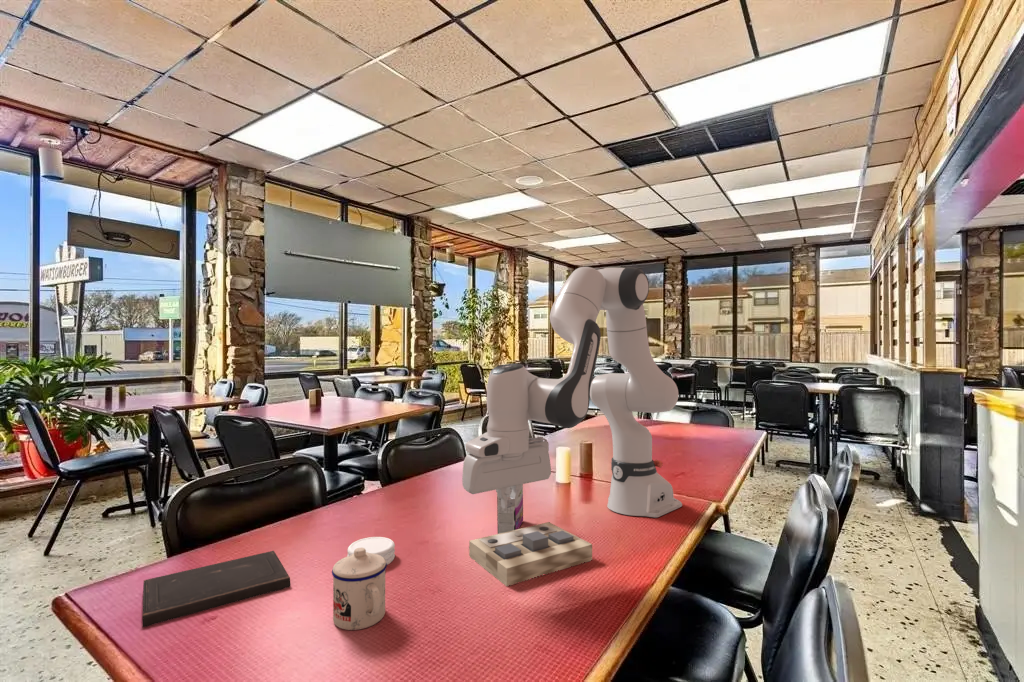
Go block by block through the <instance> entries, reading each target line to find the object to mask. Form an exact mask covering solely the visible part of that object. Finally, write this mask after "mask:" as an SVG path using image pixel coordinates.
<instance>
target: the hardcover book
mask: <svg viewBox="0 0 1024 682" xmlns="http://www.w3.org/2000/svg"><path fill="white" fill-rule="evenodd" d="M288 588H289V589H290V588H291V577H290V576H289V573H288V572H287V571H286V568H285V567H284V565H283V564H282V562H281V560H280V558H279V557H278V555H277V553H276V552H275V550H270V551H266V552H262V553H257V554H254V555H249V556H244V557H240V558H235V559H231V560H226V561H222V562H218V563H213V564H209V565H205V566H204V565H203V566H201V567H195V568H192V569H187V570H182V571H178V572H175V573H170V574H165V575H161V576H156V577H152V578H148V579H144V580H143V589H142V622H141V623H142V624H141V626H142V628H146V627H150V626H154V625H156V624H159V623H165V622H167V621H171V620H175V619H178V618H183V617H186V616H190V615H193V614H199V613H200V612H204V611H208V610H212V609H216V608H220V607H223V606H226V605H230V604H233V603H238V602H240V601H244V600H248V599H252V598H256V597H259V596H263V595H267V594H270V593H274V592H278V591H282V590H285V589H288Z"/></svg>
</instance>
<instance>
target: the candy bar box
mask: <svg viewBox="0 0 1024 682" xmlns="http://www.w3.org/2000/svg"><path fill="white" fill-rule="evenodd" d="M512 489H513V488H511V487H507V492H506V493H504V494H505V495H506V497H509V496H510V495H511V492H512ZM523 489H524V484H521V491H520V493H519V496H518V498H517V506H514V507H509V508H505V509H504V508H503V507H502V506H501V498H500V497H499V495H498V494H497V493H496V498H497V499H496V504H497V506H496V508H497V509H496V510H497V511H496V512H497V515H496V516H497V519H496V520H497V534H500V533H504V532H508V531H513V530H517V529H520V527H521V525H522V523H523V521H524V490H523Z"/></svg>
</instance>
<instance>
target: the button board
mask: <svg viewBox="0 0 1024 682" xmlns="http://www.w3.org/2000/svg"><path fill="white" fill-rule="evenodd" d="M536 531H538V532H540V533H542V534H544V535H545V536H547V537H548V534H551V533H555V532H559V531H564V532H566V533H568V534H570V535H572V536H573V541H571V542H568V543H564V544H560V545H558V544H556V543H555V542H553V541H551V540H549V539H548V548H546V549H542V550H538V551H535V552H532V551H530V550H529V549H527V548H525V547H524V546H523V535H524V534H528V533H532V532H536ZM468 544H469V545H468V547H469V549H468V550H469V551H468V553H469V554H468V555H469V556H470V557H469V558H471V559H472V560H473V561H474V560H475V561H474V562H475V563H477V564H478V566H480V567H482V568H483V569H484V570H486V572H488V573H489V574H490V575H492V576H493V577H495V579H497V580H498V581H499V582H500V583H502V585H504V586H505V587H509V585H510V586H512V585H515V584H519V583H518V582H520V583H523V582H526V581H529V580H531V579H530V578H533V579H535V578H534V577H536V578H538V577H537V576H539V577H541V576H540V575H542V576H544V575H543V574H546V575H549V574H552V573H556V572H558V570H559V571H561V570H565V569H568V568H571V566H572V567H575V566H579V565H582V564H585V563H588V562H591V560H592V561H593V544H592V543H591V542H589V541H587V540H585V539H583V538H581V537H579V536H577V535H575V534H574V533H571V532H569V531H568V530H565V529H563V528H562V527H559V526H557V525H555V524H554V523H552V522H550V521H547V522H544V523H538V524H535V525H531V526H530V525H529V526H526V527H525V526H524V527H522V528H519V529H517V530H513V531H508V532H504V533H500V534H498V533H496V534H491V535H488V536H483V537H481V538H480V537H479V538H476V539H471V540H469V542H468ZM507 544H513V545H514V546H516V547H517V548H519V549H521V555H520V556H516V557H512V558H509V559H505V560H504V559H503V558H501V557H500V556H498V555H497V554H496V553H495V547H499V546H503V545H507ZM584 562H585V563H584ZM581 563H582V564H581ZM555 571H556V572H555ZM551 572H552V573H551ZM548 573H549V574H548ZM528 579H529V580H528ZM525 580H526V581H525ZM522 581H523V582H522Z"/></svg>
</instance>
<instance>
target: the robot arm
mask: <svg viewBox="0 0 1024 682" xmlns="http://www.w3.org/2000/svg"><path fill="white" fill-rule="evenodd" d="M649 291H650V283H649V278H648V276H647V275H646V273H645V271H643V270H642V269H641V268H639V267H634V266H633V267H632V266H627V267H604V268H600V269H596V268H594V267H591V266H580V267H578V268H575V270H573V271H572V272H571V274H570V275H569V276H568V277H567V279H566V280H565V282H564V284H563V285H562V287H560V290H559V292H558V294H557V296H556V298H555V299H554V302H553V304H552V306H551V309H550V312H549V313H550V314H549V322H550V325H551V327H552V329H553V331H554V332H555V333H556V335H558V336H559V337H560V338H562V339H563V340H564V341H565V342H567V343H570V344H572V345H573V349H572V350H573V351H572V354H571V358H570V361H569V365H568V369H567V372H566V374H565V375H564V376H562V377H560V378H544V377H539V376H537V375H534V374H532V373H531V372H529V371H528V370H527V369H526V367H525V366H524V365H523V364H521V363H506V364H500V365H498V366H495V367H493V369H491V370H490V372H489V376H488V378H487V383H486V384H487V385H486V410H487V413H488V421H487V426H486V432H484V433H483V434H480V435H479V436H476V437H475V438H473V439H471V440H469V441H467V442H466V443H465V451H466V452H467V453H468V454H466V456H465V457H464V460H463V465H462V475H461V476H462V480H461V481H462V487H463V489H464V490H465V491H466V492H468V493H470V494H471V495H476V494H481V493H486V492H490V491H495V492H496V495H497V494H498V495H499V497H500V498H501V506H502V507H503V508H504V509H505V508H509V507H514V506H517V498H518V496H519V493H520V491H521V484H523V485H526V484H530V483H536V482H540V481H545V480H548V479H549V478H550V477H551V474H552V465H551V464H552V463H551V458H550V452H549V451H550V449H549V448H550V447H549V445H550V444H549V441H548V440H547V439H546V438H544V437H543V436H537V437H530V425H529V420H530V421H535V422H539V423H543V424H545V423H546V424H552V425H554V426H558V427H561V428H564V429H571V428H575V427H576V426H577V425H579V424H580V423H581V422H582V421H583V420H584V419H585V418H586V416H587V415H588V412H589V408H590V407H589V406H590V401H591V402H592V404H593V405H594V406H595V407H597V408H598V409H599V410H600V412H602V414H603V415H604V416H605V418H606V420H607V423H608V426H609V428H610V431H611V436H612V437H611V439H612V457H611V462H610V463H611V472H612V473H611V474H612V475H611V479H610V490H609V495H608V498H607V500H608V501H607V505H606V506H607V508H608V509H609V510H610V511H612V512H614V513H617V514H621V515H625V516H634V517H635V516H636V517H648V518H659V517H661V516H664V515H666V514H669V513H670V512H673V511H675V510H677V509H679V508H681V507H683V503H682V501H680V500H679V499H678V498H675V496H674V488H673V486H672V484H671V483H670V482H669V481H668V480H667V479H665V478H664V477H663V476H662V475H660V474H659V473H658V472H657V471H658V470H657V468H662V467H663V461H662V460H658V459H655V460H653V436H652V433H651V431H650V430H649V429H648V427H646V426H644V425H643V424H641V423H640V422H639V421H637V420H636V418H635V417H634V414H633V413H634V412H635V413H637V412H638V413H646V414H647V413H649V414H656V413H657V414H659V413H665V412H670V411H671V410H673V409H674V408H675V406H676V405H677V402H678V401H679V400H678V399H679V389H678V386H677V383H676V382H675V381H674V380H673V378H671V377H670V376H669V375H668V374H665V373H664V372H663V371H662V370H661V368H660V367H659V366H658V365H657V363H656V362H655V360H654V359H653V356H652V354H651V350H650V345H649V339H648V330H647V329H648V327H647V326H648V325H647V318H646V312H645V307H644V303H645V302H646V300H647V298H648V295H649ZM600 311H606V312H605V314H606V316H605V321H606V322H605V323H606V325H605V326H606V336H607V345H608V346H607V347H608V353H609V356H610V357H611V359H612V360H613V361H615V362H617V363H619V365H621V366H623V367H624V368H625V369H626V370H627V372H628V373H621V372H619V373H618V372H610V373H604V374H603V373H602V374H597V375H596V376H594V373H595V369H596V365H597V360H598V356H599V355H598V354H599V351H600V345H601V333H602V332H601V329H600V326H599V325H598V323H597V319H598V315H599V314H600ZM507 487H511V488H513V489H512V492H511V495H510V496H509V497H506V495H505V494H504V493H506V492H507Z"/></svg>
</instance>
